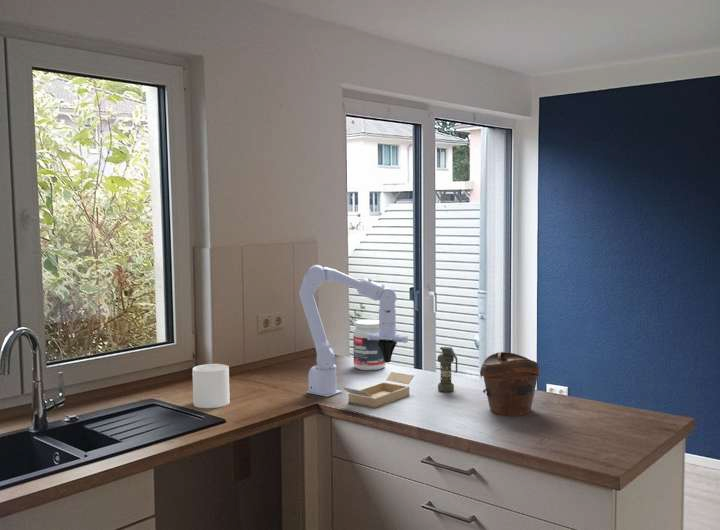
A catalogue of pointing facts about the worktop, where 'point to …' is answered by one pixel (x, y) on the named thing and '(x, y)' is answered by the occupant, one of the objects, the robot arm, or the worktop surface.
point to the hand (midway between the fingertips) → (387, 361)
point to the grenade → (446, 369)
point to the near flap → (357, 392)
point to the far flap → (400, 378)
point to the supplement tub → (367, 346)
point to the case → (509, 383)
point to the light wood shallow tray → (379, 395)
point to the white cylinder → (211, 386)
